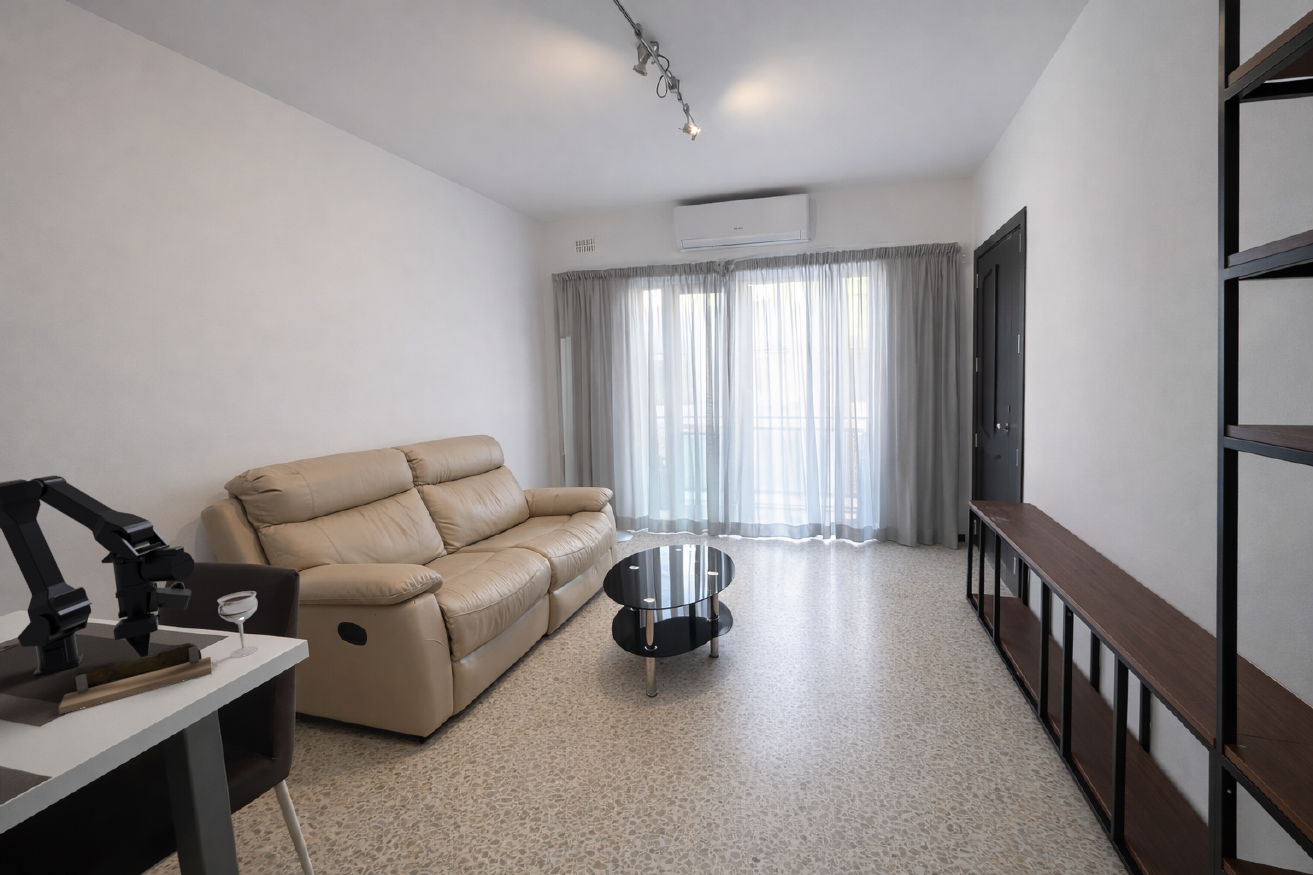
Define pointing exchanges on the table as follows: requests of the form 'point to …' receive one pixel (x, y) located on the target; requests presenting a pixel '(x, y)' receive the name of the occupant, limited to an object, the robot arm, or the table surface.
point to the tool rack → (134, 683)
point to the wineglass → (239, 615)
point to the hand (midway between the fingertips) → (144, 655)
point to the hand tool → (136, 665)
